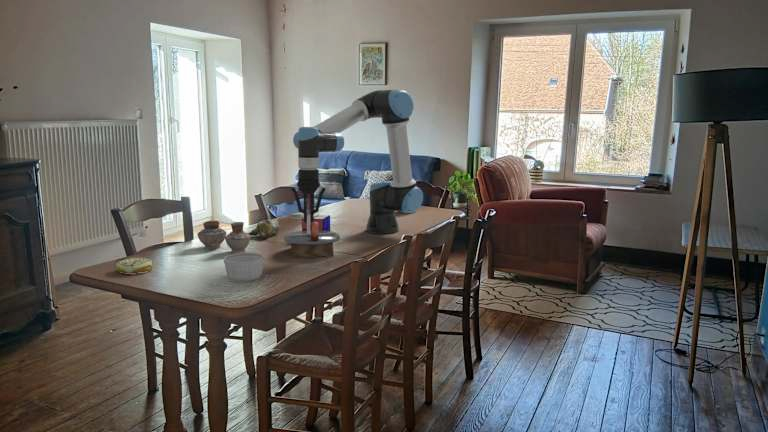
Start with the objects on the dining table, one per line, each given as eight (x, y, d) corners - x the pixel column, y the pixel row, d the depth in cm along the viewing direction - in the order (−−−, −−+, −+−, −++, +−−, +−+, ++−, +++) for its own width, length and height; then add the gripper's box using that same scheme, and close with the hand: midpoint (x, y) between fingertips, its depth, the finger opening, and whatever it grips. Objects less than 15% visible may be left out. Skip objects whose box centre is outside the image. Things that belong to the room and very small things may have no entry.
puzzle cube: (323, 242, 238) (323, 219, 237) (301, 240, 240) (301, 218, 239) (330, 236, 248) (330, 214, 246) (309, 235, 250) (308, 214, 248)
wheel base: (331, 246, 230) (331, 234, 229) (333, 256, 215) (333, 243, 214) (292, 247, 228) (292, 235, 227) (291, 257, 213) (291, 244, 212)
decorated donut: (129, 278, 187) (128, 266, 186) (110, 272, 193) (108, 261, 193) (159, 270, 196) (158, 259, 196) (139, 265, 203) (138, 254, 202)
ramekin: (261, 282, 182) (260, 262, 181) (220, 283, 181) (219, 262, 180) (266, 271, 195) (266, 251, 194) (228, 271, 194) (227, 252, 193)
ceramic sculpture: (285, 215, 251) (261, 223, 238) (286, 234, 253) (263, 242, 240) (267, 213, 256) (244, 220, 244) (269, 231, 258) (245, 239, 246)
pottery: (238, 257, 214) (236, 226, 212) (192, 249, 226) (190, 220, 224) (258, 250, 224) (256, 221, 221) (213, 243, 236) (211, 215, 233)
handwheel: (282, 234, 228) (281, 214, 227) (335, 231, 234) (334, 212, 232) (286, 246, 207) (285, 225, 206) (344, 243, 213) (343, 222, 211)
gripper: (290, 169, 202) (291, 232, 206) (326, 169, 204) (325, 232, 208) (291, 167, 210) (292, 228, 214) (325, 168, 211) (325, 228, 215)
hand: (308, 230), depth 211 cm, fingers closed
